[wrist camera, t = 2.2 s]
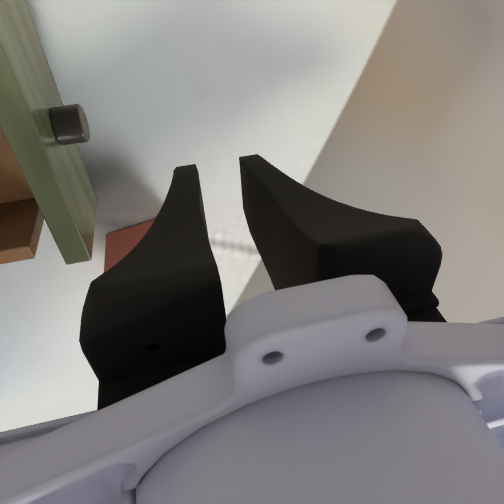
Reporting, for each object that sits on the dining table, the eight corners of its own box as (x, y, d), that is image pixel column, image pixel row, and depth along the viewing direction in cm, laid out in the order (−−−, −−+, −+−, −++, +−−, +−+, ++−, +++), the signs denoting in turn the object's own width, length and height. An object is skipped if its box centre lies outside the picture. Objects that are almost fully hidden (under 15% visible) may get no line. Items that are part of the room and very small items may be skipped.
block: (193, 260, 29) (201, 306, 26) (134, 279, 29) (135, 328, 26) (171, 213, 26) (178, 258, 23) (105, 234, 26) (102, 282, 23)
